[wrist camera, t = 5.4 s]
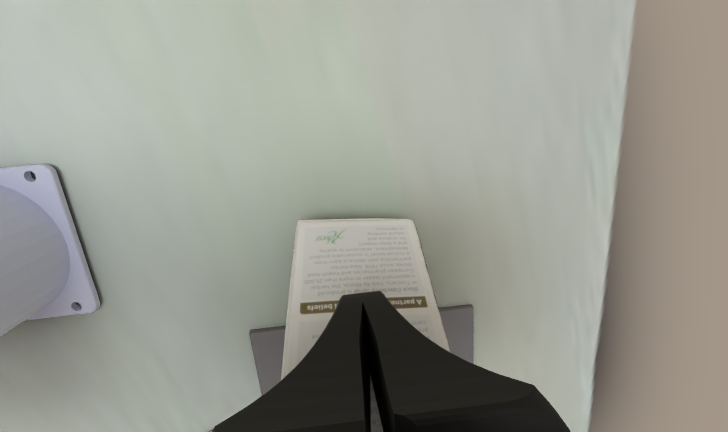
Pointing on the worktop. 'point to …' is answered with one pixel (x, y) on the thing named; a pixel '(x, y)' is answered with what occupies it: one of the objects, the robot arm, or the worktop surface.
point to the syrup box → (356, 281)
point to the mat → (272, 339)
